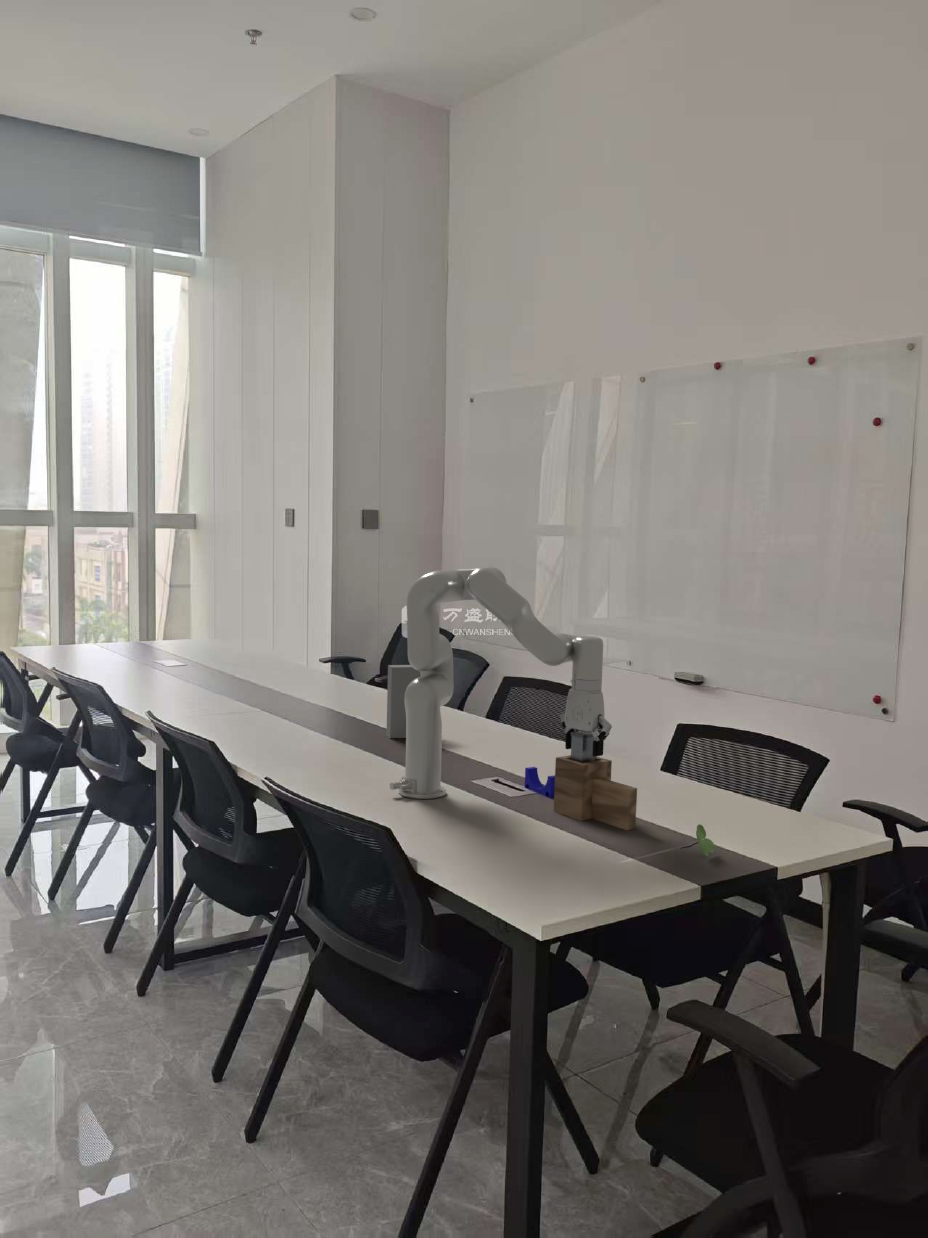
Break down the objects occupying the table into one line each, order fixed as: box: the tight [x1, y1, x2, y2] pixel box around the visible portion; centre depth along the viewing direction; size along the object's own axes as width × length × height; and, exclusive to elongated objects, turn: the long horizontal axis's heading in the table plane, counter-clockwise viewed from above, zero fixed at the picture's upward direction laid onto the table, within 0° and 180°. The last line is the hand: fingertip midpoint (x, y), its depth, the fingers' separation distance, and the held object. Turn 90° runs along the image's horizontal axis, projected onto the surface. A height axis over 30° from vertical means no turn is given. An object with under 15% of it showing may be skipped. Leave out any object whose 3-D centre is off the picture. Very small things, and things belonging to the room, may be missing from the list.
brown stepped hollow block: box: [553, 754, 638, 831], centre depth 257 cm, size 10×22×14 cm, turn 38°
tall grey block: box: [385, 664, 421, 739], centre depth 345 cm, size 14×6×25 cm, turn 108°
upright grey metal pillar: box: [570, 730, 597, 763], centre depth 261 cm, size 5×4×11 cm
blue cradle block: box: [524, 766, 555, 799], centre depth 281 cm, size 12×4×6 cm, turn 32°
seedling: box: [679, 824, 716, 857], centre depth 233 cm, size 7×8×7 cm
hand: (583, 752), depth 261 cm, fingers open, 9 cm apart
